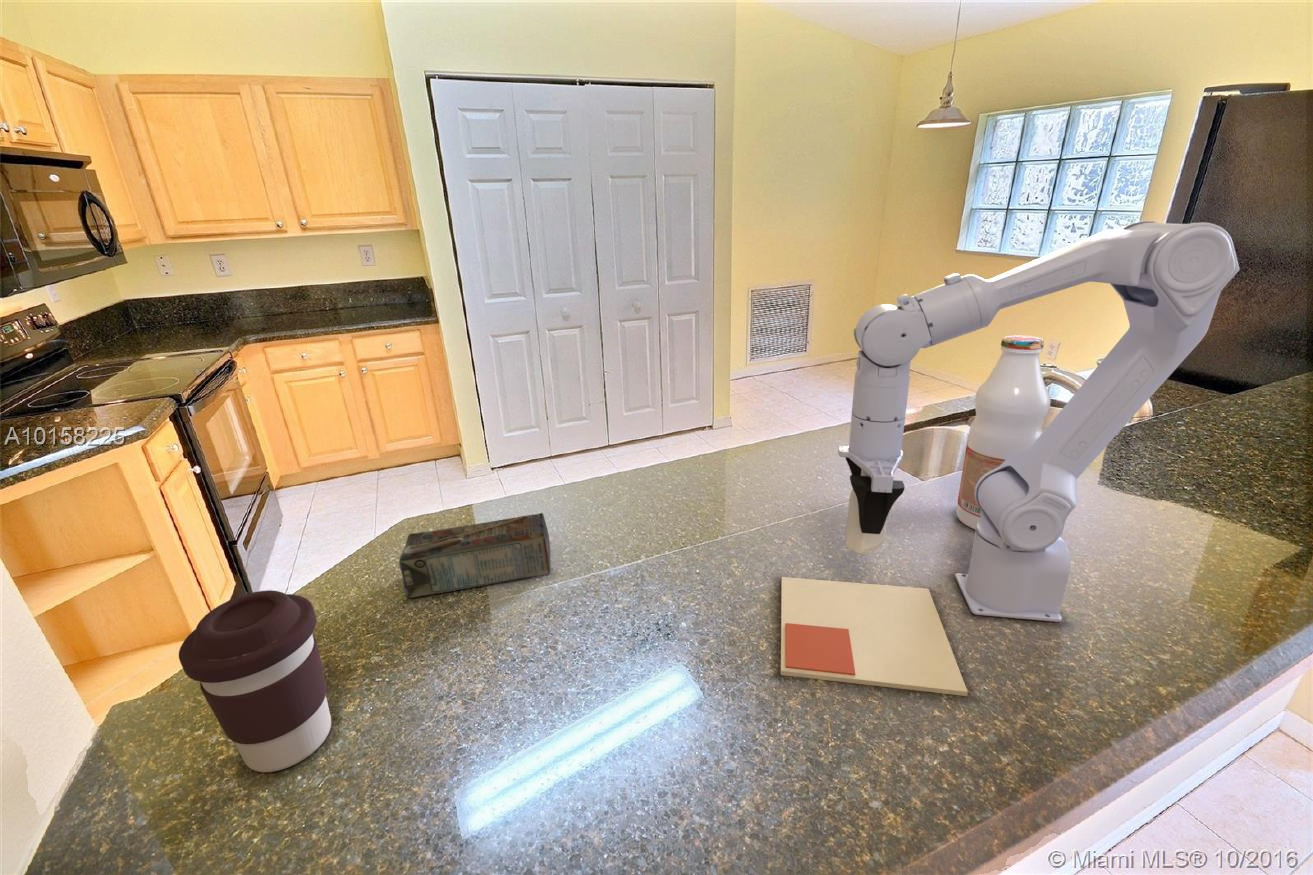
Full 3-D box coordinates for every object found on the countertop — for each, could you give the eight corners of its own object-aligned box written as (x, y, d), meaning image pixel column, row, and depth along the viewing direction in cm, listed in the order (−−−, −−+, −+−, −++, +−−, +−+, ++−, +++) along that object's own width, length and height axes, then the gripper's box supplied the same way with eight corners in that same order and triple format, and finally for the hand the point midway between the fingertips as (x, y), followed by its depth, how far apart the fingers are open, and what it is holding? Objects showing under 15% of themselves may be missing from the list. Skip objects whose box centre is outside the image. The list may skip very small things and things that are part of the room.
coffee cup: (265, 705, 60) (219, 584, 54) (363, 696, 60) (327, 574, 55) (202, 795, 50) (140, 658, 45) (319, 782, 51) (271, 646, 46)
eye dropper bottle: (895, 550, 70) (906, 459, 65) (851, 556, 69) (859, 464, 65) (877, 532, 74) (886, 445, 69) (835, 537, 73) (842, 450, 69)
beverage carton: (415, 568, 83) (406, 527, 80) (550, 547, 86) (545, 507, 84) (405, 601, 75) (395, 557, 73) (553, 576, 79) (548, 534, 77)
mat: (927, 592, 72) (928, 587, 72) (967, 696, 57) (968, 690, 57) (781, 580, 76) (781, 575, 76) (780, 675, 60) (780, 669, 60)
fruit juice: (965, 534, 84) (997, 345, 74) (947, 504, 93) (974, 332, 83) (1036, 538, 83) (1079, 345, 73) (1011, 507, 91) (1046, 331, 81)
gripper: (836, 394, 73) (829, 491, 78) (846, 435, 60) (837, 548, 64) (896, 396, 71) (885, 494, 76) (920, 438, 58) (904, 554, 63)
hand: (867, 519), depth 70 cm, fingers closed on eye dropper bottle, 5 cm apart
